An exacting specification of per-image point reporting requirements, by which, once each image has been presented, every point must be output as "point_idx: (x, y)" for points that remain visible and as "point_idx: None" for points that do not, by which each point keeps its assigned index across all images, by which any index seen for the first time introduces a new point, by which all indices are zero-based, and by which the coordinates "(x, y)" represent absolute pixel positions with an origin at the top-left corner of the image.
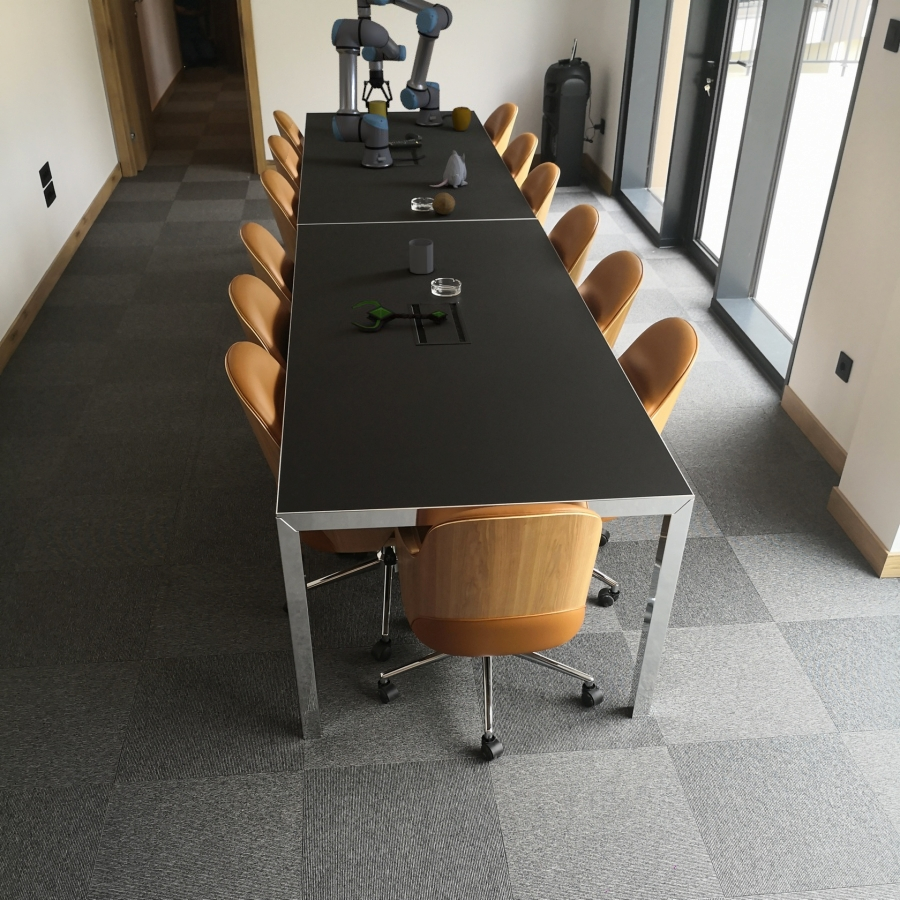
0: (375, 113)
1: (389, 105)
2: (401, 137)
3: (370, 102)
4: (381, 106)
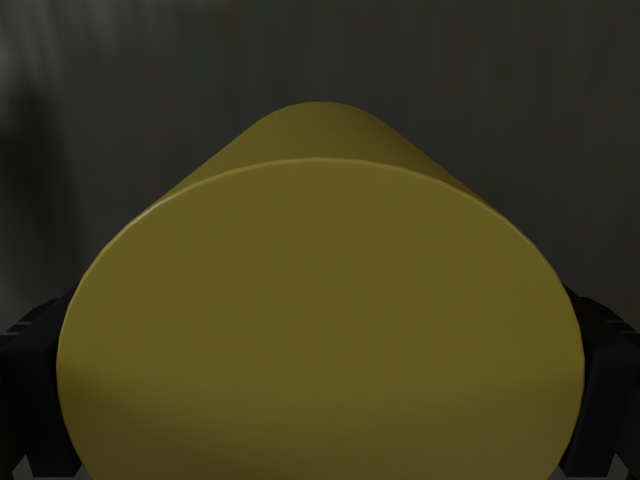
0: (364, 124)
1: (11, 330)
2: (110, 198)
3: (546, 332)
4: (194, 175)
